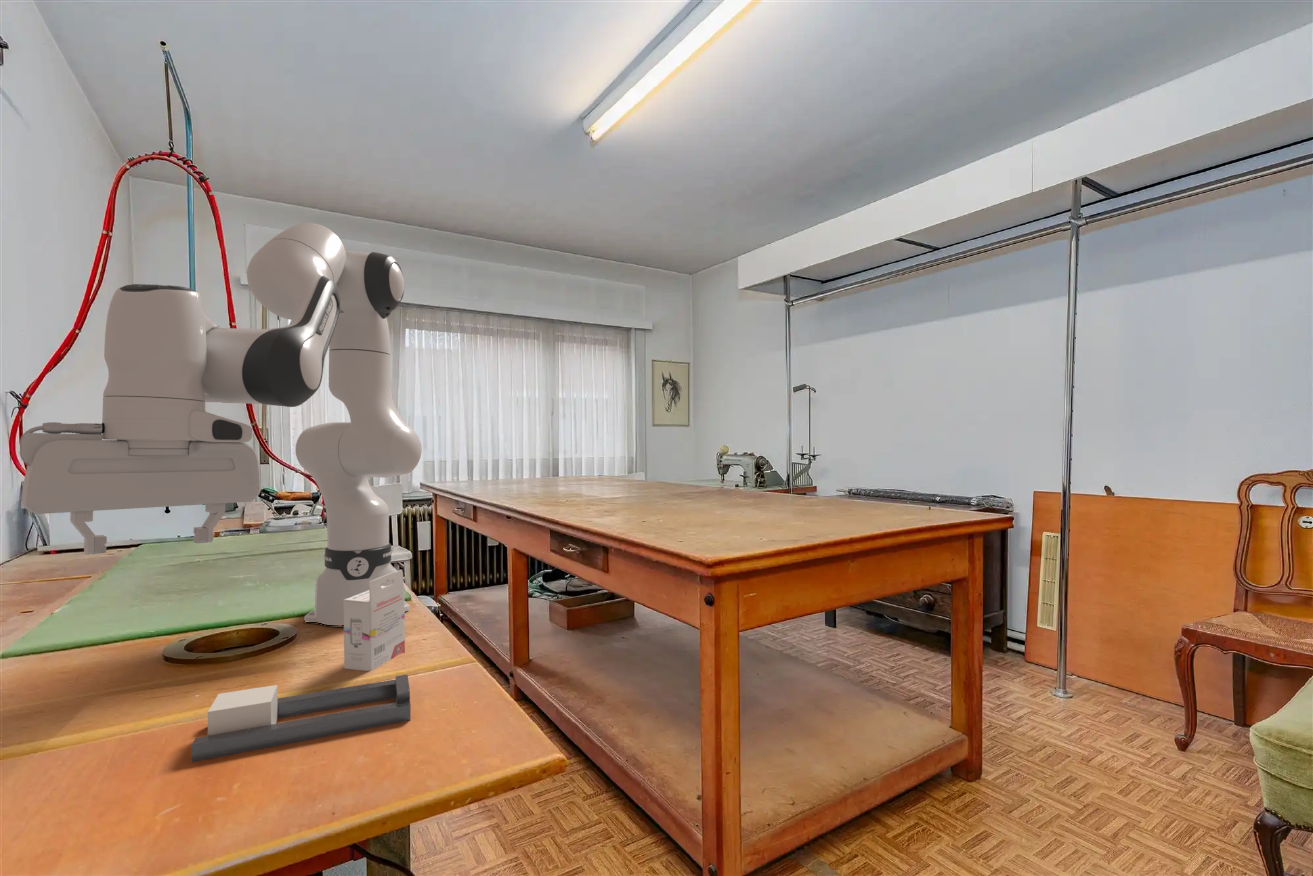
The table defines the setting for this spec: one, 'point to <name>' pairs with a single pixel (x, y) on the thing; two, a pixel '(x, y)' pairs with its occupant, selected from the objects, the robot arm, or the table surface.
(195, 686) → the table surface
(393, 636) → the ink cartridge box
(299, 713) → the chute
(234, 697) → the block
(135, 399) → the robot arm
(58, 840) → the table surface
